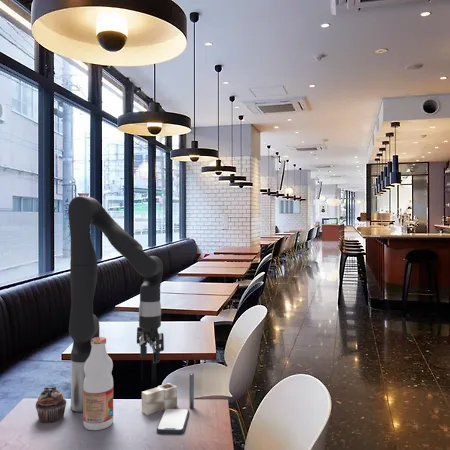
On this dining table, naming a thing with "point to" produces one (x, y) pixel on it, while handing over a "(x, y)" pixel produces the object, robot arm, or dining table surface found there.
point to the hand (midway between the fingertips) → (149, 359)
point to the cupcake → (50, 405)
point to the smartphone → (173, 421)
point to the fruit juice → (98, 387)
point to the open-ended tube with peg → (159, 398)
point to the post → (191, 390)
